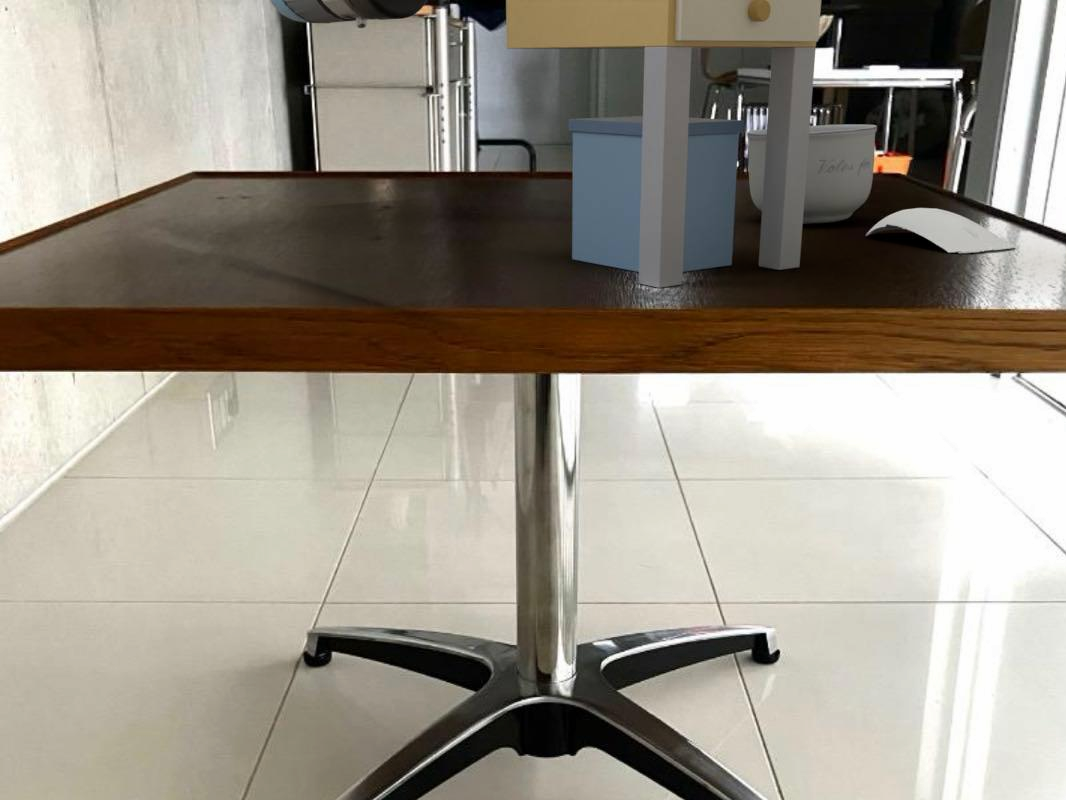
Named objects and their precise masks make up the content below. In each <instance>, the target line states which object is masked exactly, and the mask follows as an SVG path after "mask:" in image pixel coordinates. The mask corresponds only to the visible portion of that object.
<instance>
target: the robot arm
mask: <svg viewBox="0 0 1066 800" xmlns="http://www.w3.org/2000/svg"><path fill="white" fill-rule="evenodd" d="M269 2H270V4H271V5H272V6H273V7H274V8H275V10H277V11H278V12H279V13H280V14H281V15H283V16H284V17H285V18H288V19H289V20H291V21H294V22H301V23H308V24H331V23H333V24H334V23H345V22H355V25H356V27H357V28H359V29H364V28H366V27H367V24H368V21H369V20H370V21H371V20H380V21H383V20H387V21H388V20H402V19H407V18H410V17H412V16H414V15H415V14H417V13H418V12H420V11H421V10H422V9H423V8H424V6H425V5H426V4H427V3H428V0H269Z"/></svg>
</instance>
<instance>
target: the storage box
mask: <svg viewBox="0 0 1066 800" xmlns="http://www.w3.org/2000/svg"><path fill="white" fill-rule="evenodd" d="M642 131H643V115H635V116H633V115H632V116H610V117H608V116H607V117H589V118H588V117H587V118H569V119H568V132H572V205H571V206H572V210H571V211H572V213H571V215H572V216H571V217H572V219H571V220H572V221H571V223H572V224H571V225H572V226H571V227H572V230H571V236H572V237H571V238H572V239H571V259H572V260H573V261H579V262H582V263H583V262H584V263H589V264H594V265H598V266H599V265H600V266H604V267H610V268H614V269H621V270H625V271H629V272H630V271H631V272H636V273H639V246H640V208H641V169H642ZM743 132H744V120H742V119H723V118H722V119H721V118H705V117H704V118H701V117H689V125H688V150H687V176H686V201H685V227H684V253H683V273H686V272H693V271H699V270H700V271H701V270H708V269H714V268H721V267H729V266H732V264H733V250H734V248H733V246H734V229H735V228H734V227H735V210H736V191H737V174H738V173H737V171H738V152H739V134H743Z"/></svg>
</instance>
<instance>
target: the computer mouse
mask: <svg viewBox="0 0 1066 800" xmlns="http://www.w3.org/2000/svg"><path fill="white" fill-rule="evenodd" d="M894 230H895V231H896V230H907V231H909V232H912V233H915V234H916V235H918V236H920V237H923V238H925V239H927V240H928V241H930V242H931V243H933V244H935V245H936V246H938V247H939V248H941V249H943V250H944V251H946V252H947V253H948V254H950V253H958V254H971V253H974V254H975V253H980V252H986V251H1001V250H1006V249H1013V248H1015V249H1016V246H1015V245H1013V243H1010V242H1008V241H1007V240H1005V239H1004V238H1002V237H1000V236H999V235H997V234H996V233H994V232H993V231H990V230H989V229H987V228H986V227H984V226H982V225H981V224H978V223H976V222H975V221H973V220H971V219H969V218H968V217H965V216H963V215H960V214H958V213H955V212H953V211H952V212H951V211H950V210H949V211H948V210H944V209H940V208H931V207H930V208H929V207H915V208H906V209H902V210H901V209H900V210H899V211H896V212H894V213H891V214H889V215H887V216H885V217H884V218H882V219H881V220H879V221H878V222H877V223H876V224H874V225H873V226H872V227H871V228H870V229H869V230H868V231H867V232H866V234H865V237H867V236H870V235H871V234H874V233H879V232H886V231H894Z"/></svg>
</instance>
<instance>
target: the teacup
mask: <svg viewBox="0 0 1066 800" xmlns="http://www.w3.org/2000/svg"><path fill="white" fill-rule="evenodd" d="M877 130H878V125H875V124H865V123H864V124H862V123H861V124H855V123H853V124H851V123H850V124H849V123H848V124H845V123H844V124H822V125H819V124H818V125H810V130H809V144H808V157H807V171H806V184H805V198H804V212H803V225H808V224H809V225H810V224H825V223H826V224H827V223H835V222H842V221H844V220H847V219H849V218H850V217H852V216H853V213H854V212H855V211H857V210H858V209H859V208H861V206H863V205H864V203H865V202H866V201H867V200H868V199H869V196H870V194H871V190H872V186H873V180H874V179H873V178H874V167H875V147H876V146H875V145H876V133H877ZM746 137H747V139H748V182H749V184H748V185H749V194H750V197H751V201H752V203H753V205H754V206H755V207H756V208H757V209H758V210H759V211H761V212H762V202H763V185H764V169H765V153H766V137H767V128H764V129H754V130H749V131H747V133H746Z"/></svg>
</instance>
